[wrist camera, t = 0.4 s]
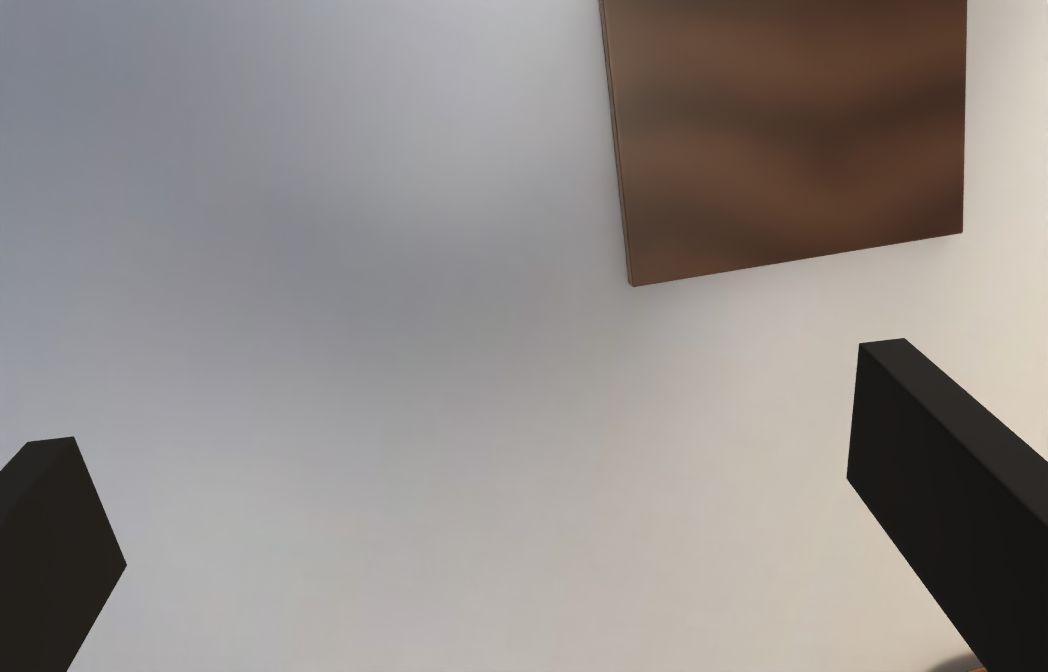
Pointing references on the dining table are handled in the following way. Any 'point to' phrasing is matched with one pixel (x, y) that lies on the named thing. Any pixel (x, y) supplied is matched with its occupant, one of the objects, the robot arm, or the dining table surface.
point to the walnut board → (783, 128)
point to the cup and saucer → (978, 670)
